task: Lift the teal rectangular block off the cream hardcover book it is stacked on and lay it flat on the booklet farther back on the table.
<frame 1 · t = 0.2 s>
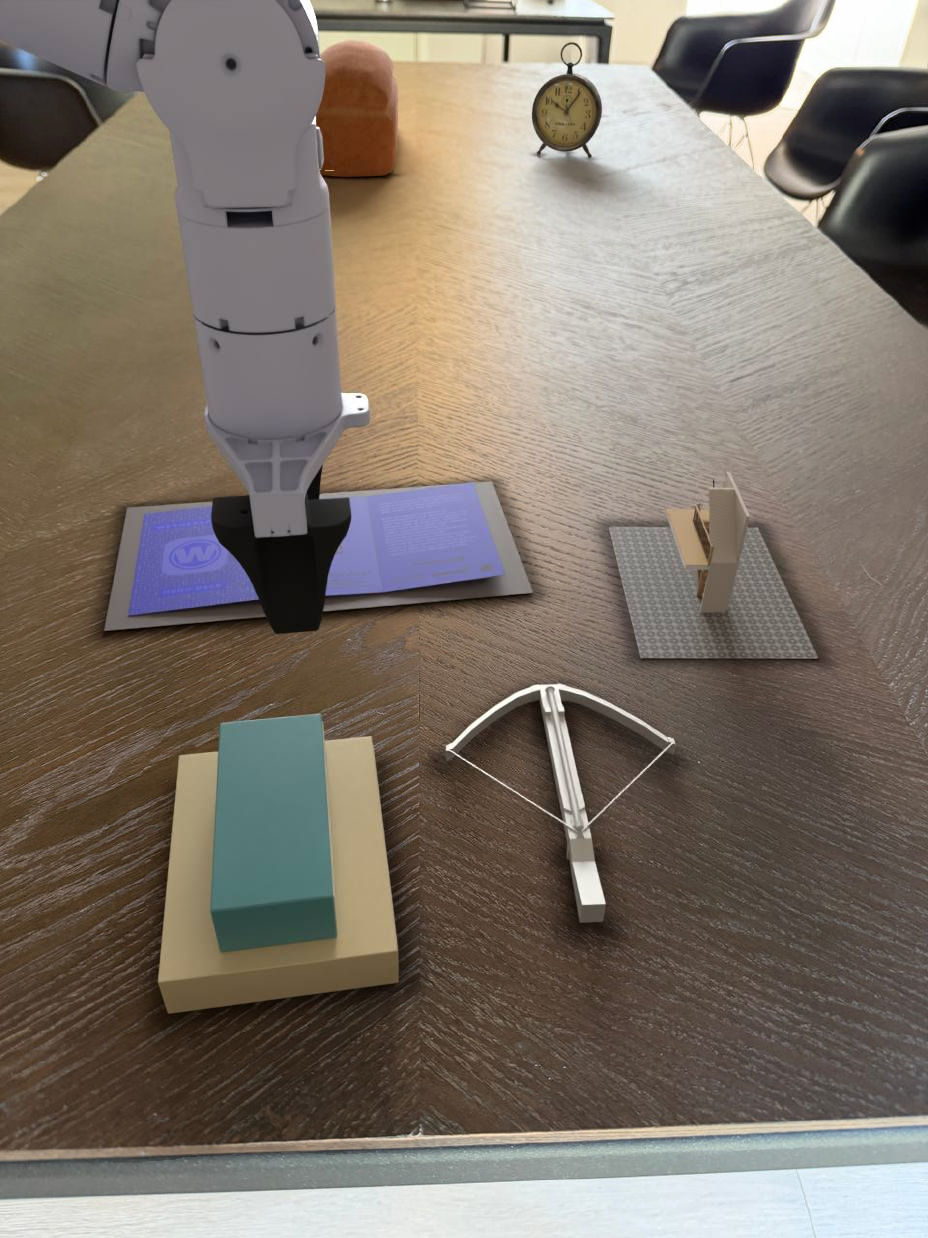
hand: (295, 579, 48), 11 cm above the table, tool pointing down, fingers open, 7 cm apart
crossbow: (565, 799, 52), on the table
teal rectangular block: (277, 844, 46), point 2 cm above the table, touching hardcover
booklet: (319, 550, 69), on the table
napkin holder: (703, 589, 67), on the table
alarm clock: (564, 156, 160), on the table
bread: (356, 152, 159), on the table
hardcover: (283, 876, 47), on the table, touching teal rectangular block
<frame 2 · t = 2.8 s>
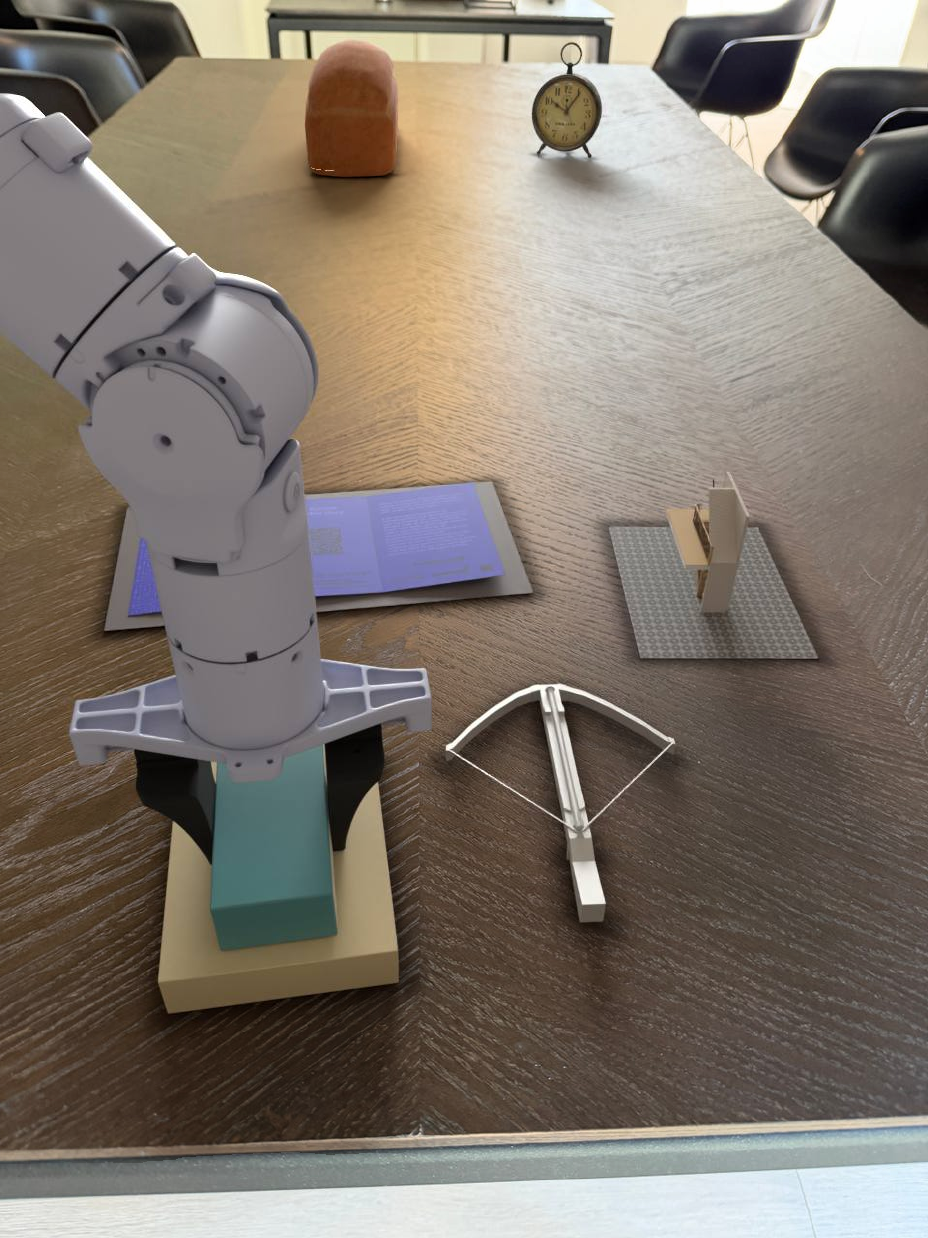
hand: (277, 841, 46), 3 cm above the table, tool pointing down, fingers closed on teal rectangular block, 5 cm apart
teal rectangular block: (277, 842, 46), point 3 cm above the table, touching gripper
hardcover: (283, 876, 47), on the table
everything else where it was.
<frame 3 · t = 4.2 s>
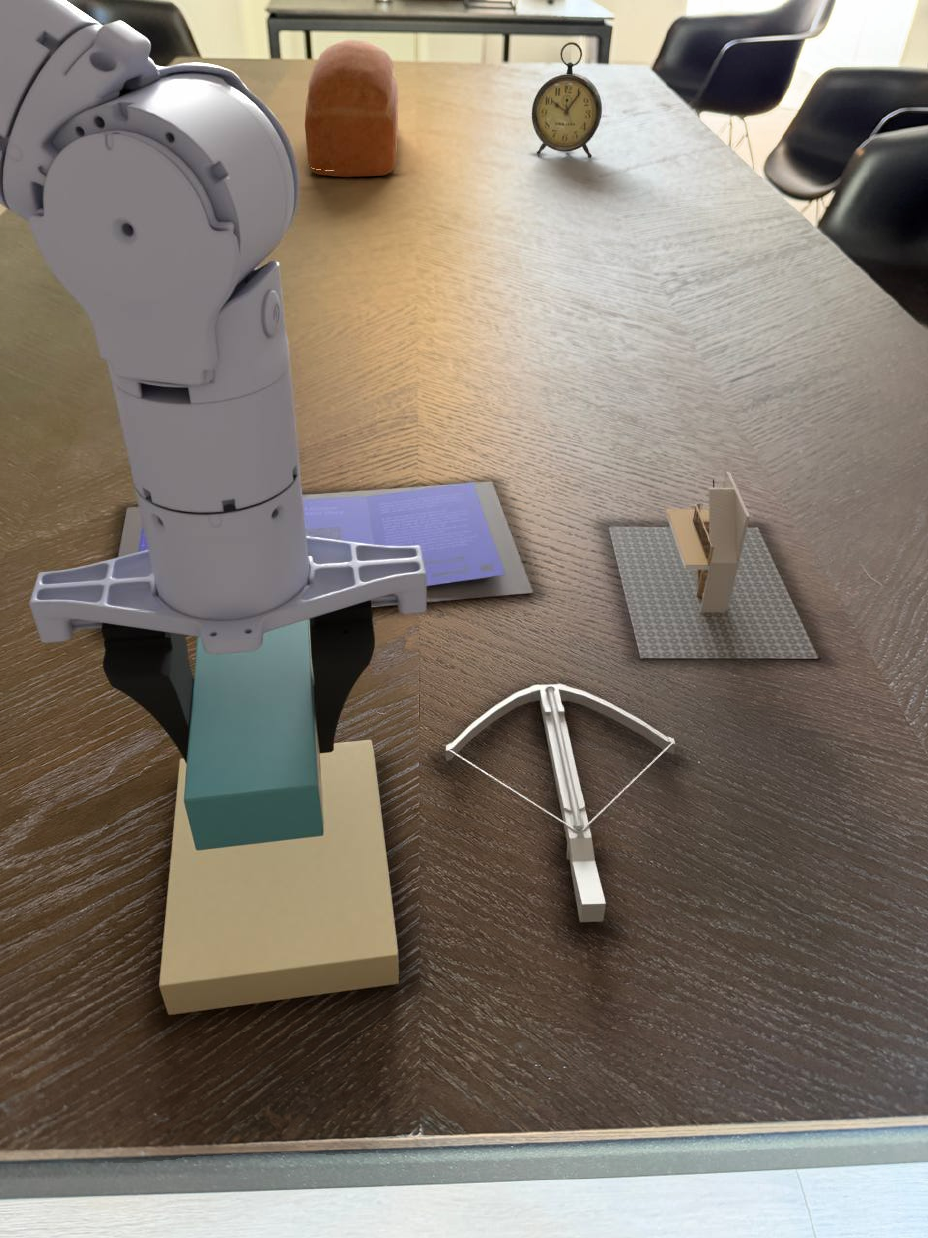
hand: (260, 743, 42), 9 cm above the table, tool pointing down, fingers closed on teal rectangular block, 5 cm apart
teal rectangular block: (260, 744, 43), point 9 cm above the table, touching gripper
everything else where it was.
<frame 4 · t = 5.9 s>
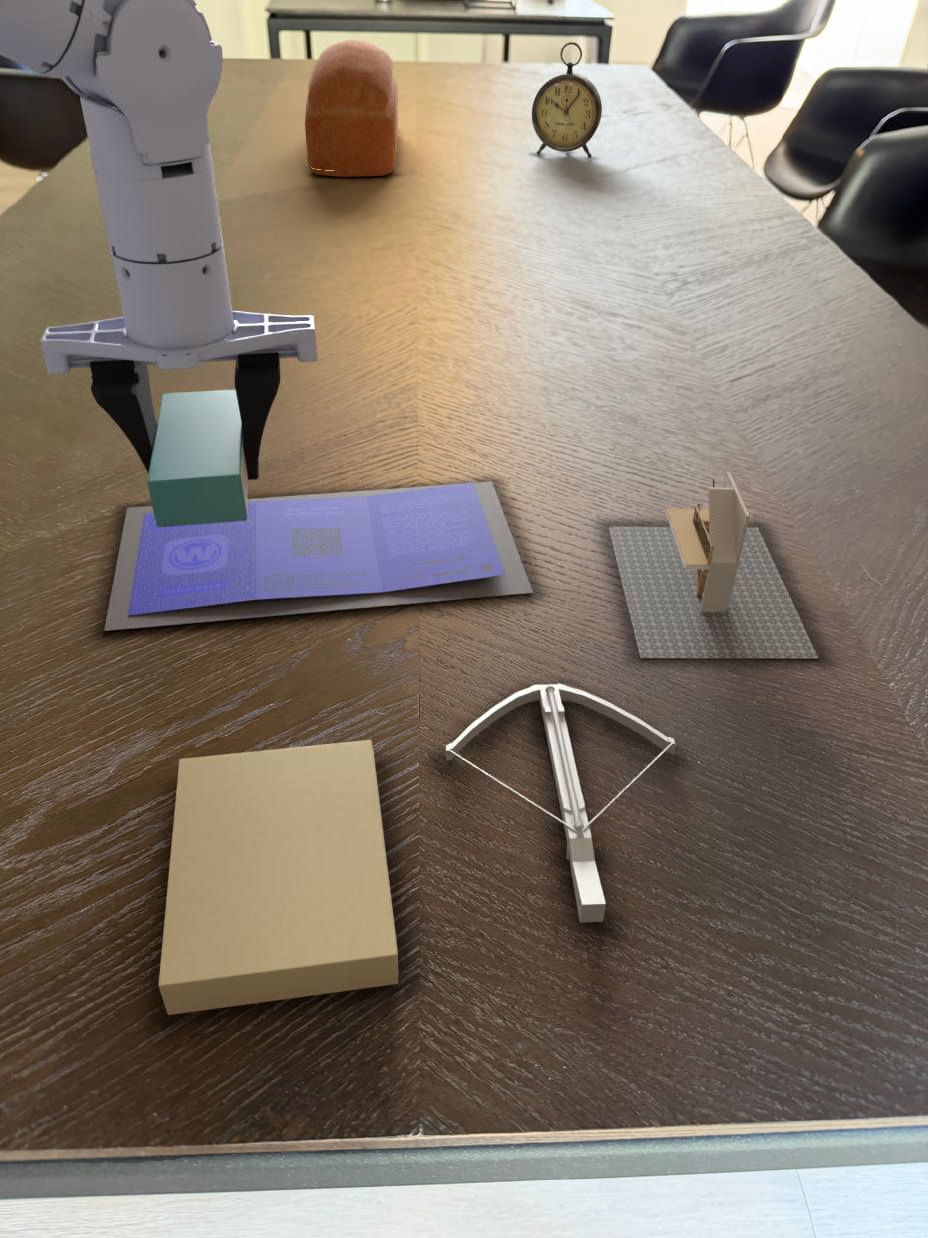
hand: (205, 474, 59), 9 cm above the table, tool pointing down, fingers closed on teal rectangular block, 5 cm apart
teal rectangular block: (206, 475, 59), point 9 cm above the table, touching gripper
everything else where it was.
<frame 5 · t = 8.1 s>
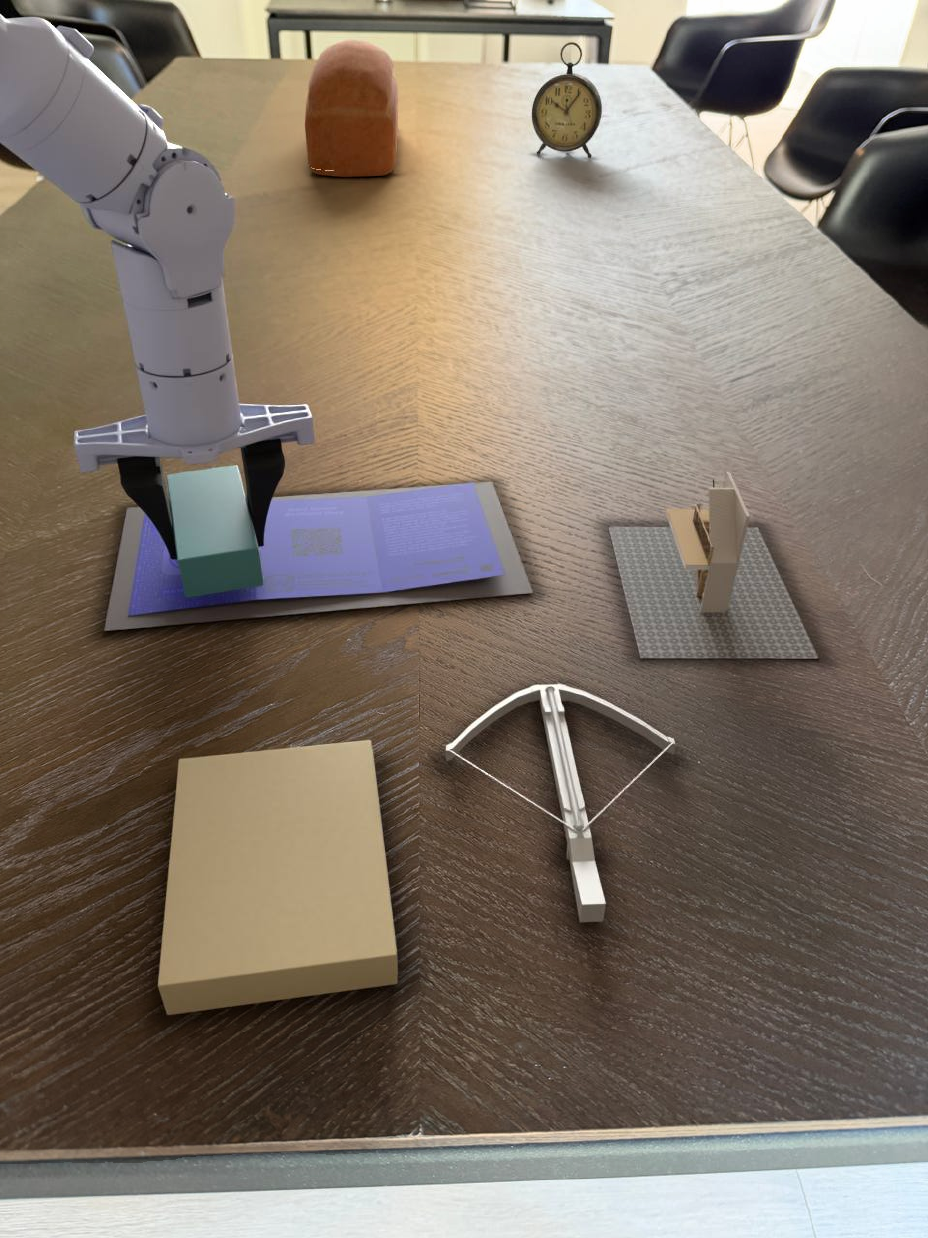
hand: (216, 545, 67), 2 cm above the table, tool pointing down, fingers closed on teal rectangular block, 5 cm apart
teal rectangular block: (216, 545, 67), point 2 cm above the table, touching gripper
everything else where it was.
when the fingers open (0 cm above the table, at t = 9.0 s): teal rectangular block stays where it is, resting on booklet.
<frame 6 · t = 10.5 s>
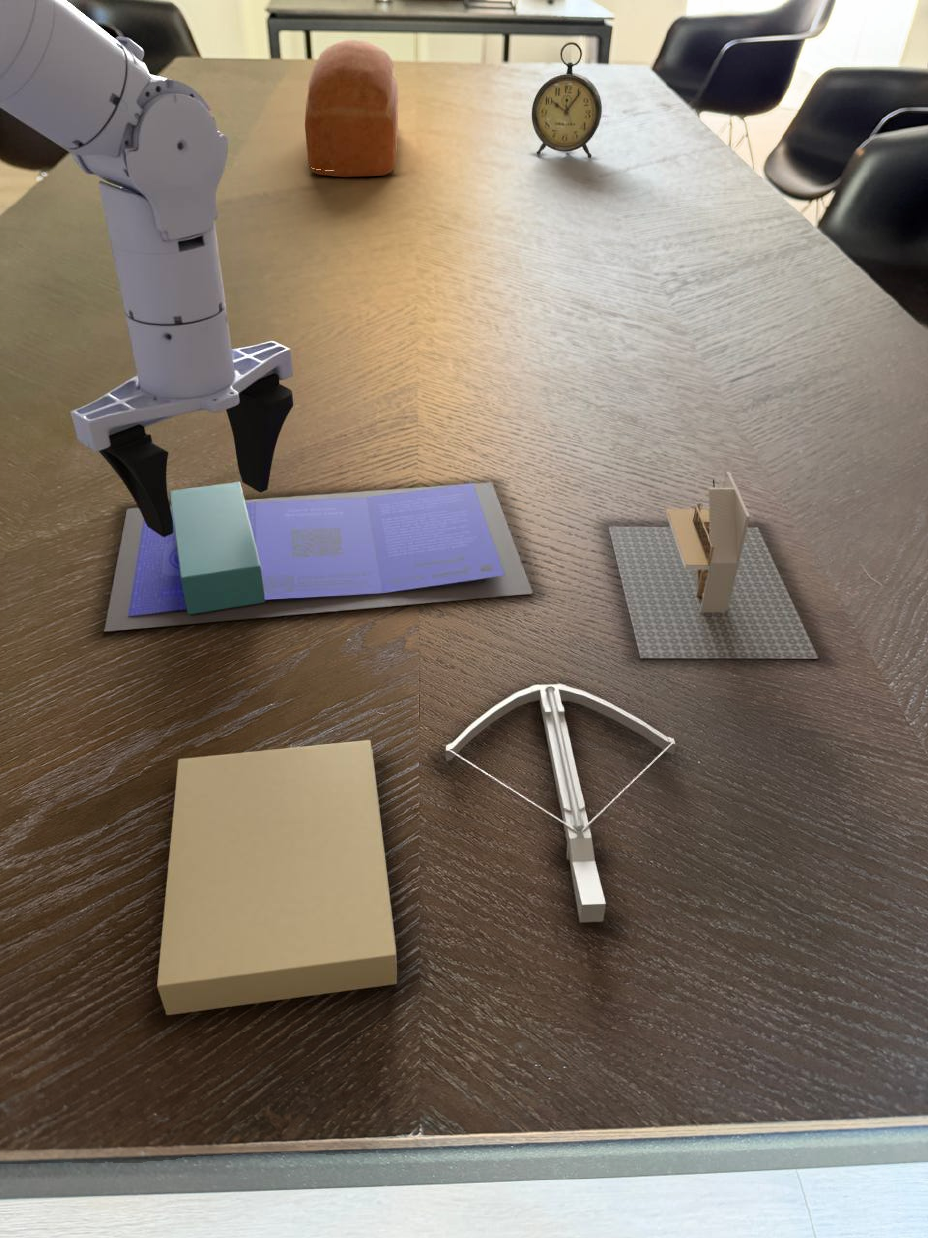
hand: (209, 506, 65), 5 cm above the table, tool pointing down, fingers open, 7 cm apart
teal rectangular block: (218, 562, 67), resting on booklet
booklet: (319, 550, 69), on the table, touching teal rectangular block
everything else where it was.
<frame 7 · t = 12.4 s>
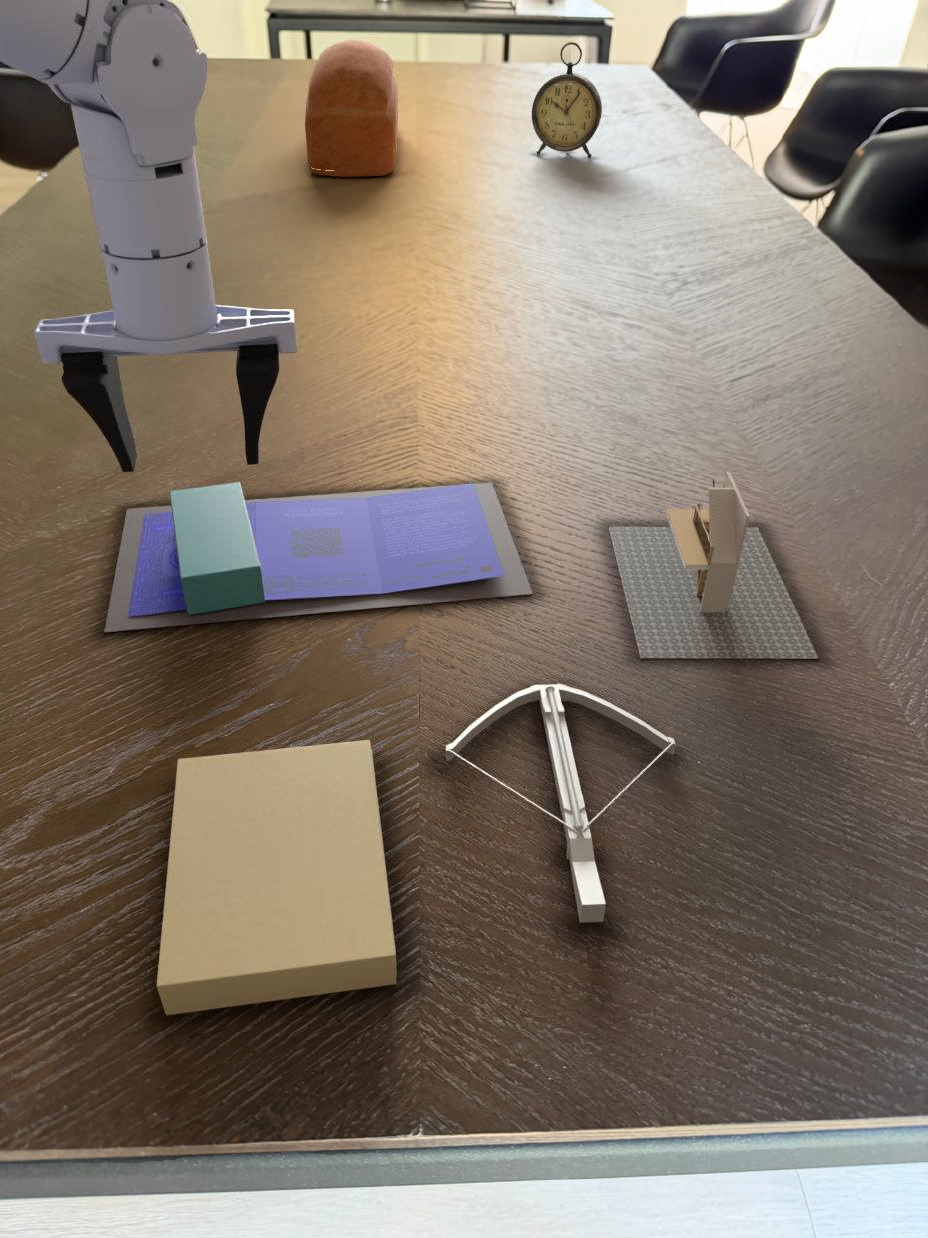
hand: (191, 460, 62), 9 cm above the table, tool pointing down, fingers open, 7 cm apart
nothing on the table moved.
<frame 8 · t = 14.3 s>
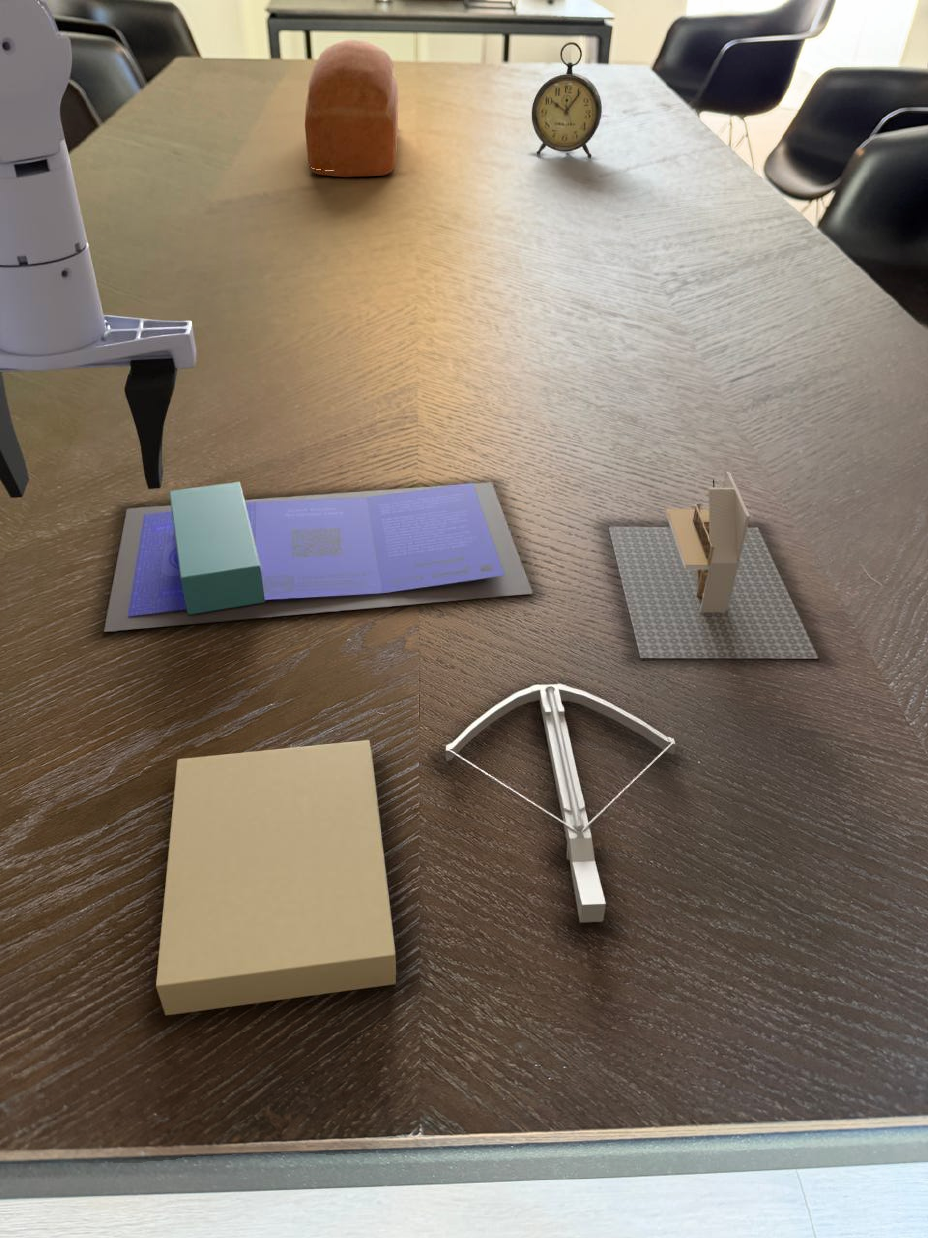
hand: (88, 484, 57), 10 cm above the table, tool pointing down, fingers open, 7 cm apart
nothing on the table moved.
at the end: teal rectangular block inside the target area on the booklet (7.1 cm from its centre), point 0.3 cm above the booklet's base; teal rectangular block touching booklet; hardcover moved 0.3 cm from its start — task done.
